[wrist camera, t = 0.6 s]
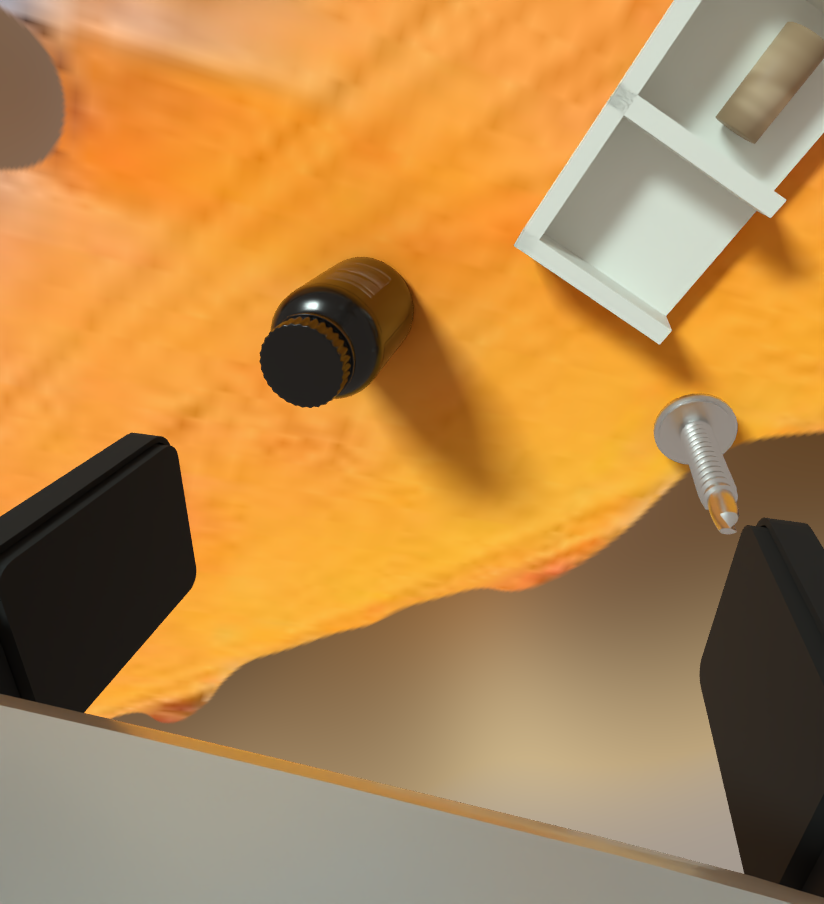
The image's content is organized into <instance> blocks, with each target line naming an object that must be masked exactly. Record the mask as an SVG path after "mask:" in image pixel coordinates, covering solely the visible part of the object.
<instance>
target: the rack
mask: <svg viewBox="0 0 824 904" xmlns="http://www.w3.org/2000/svg"><path fill="white" fill-rule="evenodd" d="M787 22H795V23H798V24H801V25H803V26H805V27H807V28H808V29H810V30H812V31H813V32H815V33H816V34H817V35H819V36H820V37H821V38H822V39H823V40H824V0H674V1H673V2H672V4H671V5H670V7H669V8H668V10H667V12H666V13H665V15H664V16H663V18H662V19H661V21H660V22H659V24H658V25H657V27H656V28H655V30H654V31H653V33H652V34H651V36H650V37H649V39H648V40H647V42H646V43H645V45H644V47H643V48H642V50H641V51H640V53H639V54H638V56H637V57H636V59H635V60H634V62H633V63H632V65H631V66H630V68H629V69H628V71H627V72H626V74H625V75H624V77H623V78H622V80H621V81H620V83H619V85H618V86H617V88H616V89H615V91H614V92H613V94H612V95H611V97H610V98H609V100H608V101H607V103H606V104H605V106H604V107H603V109H602V110H601V112H600V113H599V115H598V116H597V118H596V120H595V121H594V123H593V124H592V126H591V127H590V129H589V130H588V132H587V133H586V135H585V136H584V138H583V139H582V141H581V142H580V144H579V145H578V147H577V148H576V150H575V151H574V153H573V154H572V156H571V158H570V159H569V161H568V162H567V164H566V165H565V167H564V168H563V170H562V171H561V173H560V174H559V176H558V177H557V179H556V180H555V182H554V183H553V185H552V186H551V188H550V189H549V191H548V193H547V194H546V196H545V197H544V199H543V200H542V202H541V203H540V205H539V206H538V208H537V209H536V211H535V212H534V214H533V215H532V217H531V218H530V220H529V221H528V223H527V224H526V226H525V227H524V229H523V231H522V232H521V234H520V235H519V237H518V239H517V241H516V242H515V244H514V246H515V247H516V248H518V249H519V250H521V251H522V252H524V253H525V254H527V255H528V256H530V257H531V258H533V259H534V260H536V261H537V262H539V263H540V264H541V265H543V266H544V267H546V268H547V269H549V270H550V271H552V272H553V273H555V274H556V275H558V276H559V277H561V278H562V279H564V280H565V281H566V282H568V283H569V284H571V285H572V286H574V287H575V288H577V289H578V290H580V291H581V292H583V293H584V294H586V295H587V296H589V297H590V298H592V299H593V300H594V301H596V302H597V303H599V304H600V305H602V306H603V307H605V308H606V309H608V310H609V311H611V312H612V313H614V314H615V315H617V316H618V317H619V318H621V319H622V320H624V321H625V322H627V323H628V324H630V325H631V326H633V327H634V328H636V329H637V330H639V331H640V332H642V333H643V334H645V335H646V336H647V337H649V338H650V339H652V340H653V341H655V342H656V343H658V344H659V345H660V344H661V343H662V342H663V340H664V339H665V338H666V337H667V336H668V335H669V334H670V332H671V331H672V329H671V327H670V324H669V322H668V320H667V317H666V316H667V314H668V313H669V312H670V311H671V310H672V309H673V307H674V306H675V305H676V304H677V303H678V302H679V300H680V299H681V298H682V297H683V296H684V295H685V293H686V292H687V291H688V290H689V289H690V288H691V286H692V285H693V284H694V283H695V282H696V281H697V279H698V278H699V277H700V276H701V275H702V274H703V273H704V271H705V270H706V269H707V268H708V267H709V266H710V264H711V263H712V262H713V261H714V260H715V259H716V257H717V256H718V255H719V254H720V253H721V252H722V250H723V249H724V248H725V247H726V246H727V245H728V243H729V242H730V241H731V240H732V239H733V238H734V236H735V235H736V234H737V233H738V232H739V231H740V229H741V228H742V227H743V226H744V225H745V224H746V222H747V221H748V220H749V219H750V218H751V217H752V215H753V214H754V213H755V212H756V211H758V212H760V213H762V214H763V215H765V216H767V217H769V218H771V217H772V216H773V215H774V214H775V213H776V212H777V211H778V209H779V208H780V207H781V206H782V205H783V204H784V203H785V201H786V199H784V198H783V197H782V196H780V195H779V194H777V193H776V192H775V191H774V190H775V189H776V188H777V186H778V185H779V184H780V183H781V182H782V181H783V179H784V178H785V177H786V176H787V175H788V174H789V172H790V171H791V170H792V169H793V168H794V167H795V165H796V164H797V163H798V162H799V161H800V160H801V158H802V157H803V156H804V155H805V154H806V153H807V151H808V150H809V149H810V148H811V147H812V146H813V144H814V143H815V142H816V141H817V140H818V139H819V138H820V136H821V135H822V134H823V133H824V59H823V60H822V62H821V63H820V64H819V65H818V67H817V68H816V69H815V70H814V71H813V73H812V74H811V75H810V76H809V78H808V79H807V80H806V81H805V83H804V84H803V85H802V86H801V88H800V89H799V90H798V91H797V93H796V94H795V95H794V96H793V97H792V99H791V100H790V101H789V102H788V104H787V105H786V106H785V107H784V109H783V110H782V111H781V112H780V114H779V115H778V116H777V117H776V118H775V120H774V121H773V122H772V123H771V125H770V126H769V127H768V128H767V130H766V131H765V132H764V133H763V135H762V136H761V137H760V138H759V140H758V141H757V142H756V143H755V144H753V143H751V142H749V141H747V140H745V139H743V138H742V137H740V136H738V135H737V134H735V133H734V132H733V131H731V130H730V129H728V128H727V127H726V126H724V125H723V124H722V123H721V122H719V121H718V120H717V119H716V115H717V114H718V113H719V112H720V110H721V109H722V108H723V106H724V105H725V104H726V102H727V101H728V100H729V98H730V97H731V96H732V94H733V93H734V92H735V90H736V89H737V88H738V86H739V85H740V84H741V82H742V81H743V80H744V78H745V77H746V76H747V75H748V73H749V72H750V71H751V69H752V68H753V67H754V65H755V64H756V63H757V61H758V60H759V59H760V57H761V56H762V55H763V53H764V52H765V51H766V49H767V48H768V47H769V45H770V44H771V43H772V41H773V40H774V39H775V38H776V36H777V35H778V34H779V32H780V31H781V30H782V28H783V27H784V26H785V24H786V23H787Z"/></svg>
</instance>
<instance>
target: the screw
mask: <svg viewBox="0 0 824 904" xmlns="http://www.w3.org/2000/svg"><path fill="white" fill-rule="evenodd" d="M737 426H738V424H737V420H736V416H735V414H734V413H733V411H732V409H731V408H730V407H729V405H728V404H727V403H726V402H724V401H723V400H721V399H720V398H718V397H715V396H712V395H709V394H702V393H699V394H689V395H684V396H681V397H679V398H677V399H674V400H673V401H671V402H670V403H668V404H667V405H666V406H665V407H664V408H663V409H662V410H661V411H660V413H659V415H658V416H657V418H656V421H655V424H654V438H655V442H656V444H657V446H658V448H659V449H660V451H661V452H662V453H663V454H664V455H665V456H667V457H668V458H669V459H671V460H673V461H675V462H678V463H682V464H689V467H690V470H691V473H692V477H693V480H694V483H695V487H696V490H697V493H698V496H699V498H700V501H701V503H702V504H703V505H704V508H705V509H706V510H709V512H710V514H711V517H712V520H713V521H714V524H715V525H716V527H717V529H718V530H719V531H720V532H721V533H723V534H733V533H735V532H737V530H736V528H735V525H734V524H735V523H736V522H737V520H738V517H739V510H738V506H737V504H736V502H737V499H738V494H737V488H736V486H735V484H734V481H733V479H732V476H731V474H730V471H729V469H728V467H727V464H726V462H725V459H724V457H723V454H724V453H725V452H726V451H727V450H728V449H729V448H730V447H731V445H732V444H733V442H734V440H735V438H736V434H737Z"/></svg>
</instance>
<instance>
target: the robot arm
mask: <svg viewBox="0 0 824 904" xmlns="http://www.w3.org/2000/svg"><path fill="white" fill-rule="evenodd" d="M195 578H196V564H195V558H194V552H193V546H192V539H191V533H190V527H189V521H188V515H187V508H186V502H185V496H184V490H183V484H182V477H181V471H180V465H179V459H178V454H177V451H176V449H175V448H174V447H172V446H170V444H169V442H168V440H167V439H166V438H164V437H161V436H154V435H146V434H139V433H130V434H128V435H126V436H124V437H123V438H121V439H120V440H118V441H117V442H115V443H113V444H112V445H110V446H109V447H107V448H106V449H104V450H103V451H101V452H100V453H98V454H96V455H95V456H93V457H92V458H90V459H89V460H87V461H86V462H84V463H83V464H81V465H79V466H78V467H76V468H75V469H73V470H72V471H70V472H69V473H67V474H66V475H64V476H62V477H61V478H59V479H58V480H56V481H55V482H53V483H52V484H50V485H49V486H47V487H45V488H44V489H42V490H41V491H39V492H38V493H36V494H35V495H33V496H32V497H30V498H28V499H27V500H25V501H24V502H22V503H21V504H19V505H18V506H16V507H15V508H13V509H11V510H10V511H8V512H7V513H5V514H4V515H2V516H1V517H0V904H824V549H823V547H822V546H821V544H820V542H819V540H818V539H817V537H816V536H815V534H814V532H813V531H812V529H811V528H810V527H809V525H808V524H805V523H799V522H792V521H785V520H777V519H770V518H762V519H761V520H760V521H759V522H758V524H757V525H756V526H750V525H747V526H746V527H744V529H743V531H742V533H741V536H740V539H739V542H738V545H737V548H736V551H735V555H734V558H733V561H732V564H731V567H730V570H729V574H728V577H727V580H726V583H725V586H724V589H723V593H722V596H721V599H720V602H719V605H718V608H717V612H716V615H715V618H714V621H713V624H712V627H711V631H710V634H709V637H708V640H707V643H706V646H705V649H704V653H703V656H702V659H701V664H700V684H701V689H702V693H703V698H704V702H705V706H706V711H707V715H708V719H709V723H710V728H711V732H712V736H713V740H714V745H715V749H716V754H717V758H718V762H719V767H720V771H721V775H722V779H723V784H724V788H725V792H726V797H727V801H728V805H729V810H730V814H731V818H732V823H733V827H734V831H735V835H736V840H737V844H738V848H739V853H740V857H741V861H742V865H743V870H744V874H742V873H738V872H734V871H730V870H727V869H722V868H719V867H715V866H711V865H708V864H703V863H700V862H696V861H692V860H688V859H684V858H681V857H676V856H673V855H669V854H665V853H661V852H658V851H654V850H650V849H646V848H642V847H638V846H634V845H630V844H626V843H623V842H619V841H615V840H611V839H608V838H604V837H600V836H596V835H591V834H588V833H583V832H580V831H575V830H571V829H567V828H563V827H559V826H555V825H551V824H546V823H543V822H539V821H534V820H530V819H526V818H522V817H518V816H514V815H510V814H506V813H501V812H497V811H493V810H489V809H485V808H481V807H477V806H473V805H468V804H464V803H461V802H456V801H452V800H448V799H444V798H440V797H436V796H432V795H428V794H424V793H419V792H415V791H411V790H407V789H403V788H399V787H395V786H391V785H386V784H382V783H378V782H374V781H370V780H366V779H361V778H357V777H353V776H349V775H345V774H340V773H336V772H332V771H328V770H324V769H319V768H315V767H311V766H306V765H303V764H298V763H294V762H290V761H286V760H282V759H278V758H273V757H269V756H265V755H261V754H257V753H252V752H248V751H244V750H240V749H235V748H231V747H227V746H223V745H218V744H214V743H209V742H206V741H201V740H197V739H193V738H189V737H185V736H180V735H176V734H172V733H168V732H163V731H159V730H155V729H150V728H146V727H142V726H138V725H133V724H129V723H125V722H120V721H116V720H112V719H107V718H103V717H99V716H94V715H90V714H86V713H84V712H85V711H86V710H87V708H88V707H89V706H90V705H91V704H92V703H93V701H94V700H95V699H96V698H97V697H98V696H99V695H100V693H101V692H102V691H103V690H104V689H105V688H106V686H107V685H108V684H109V683H110V682H111V681H112V680H113V678H114V677H115V676H116V675H117V674H118V673H119V671H120V670H121V669H122V668H123V667H124V666H125V664H126V663H127V662H128V661H129V660H130V659H131V658H132V656H133V655H134V654H135V653H136V652H137V651H138V649H139V648H140V647H141V646H142V645H143V644H144V643H145V641H146V640H147V639H148V638H149V637H150V636H151V634H152V633H153V632H154V631H155V630H156V629H157V627H158V626H159V625H160V624H161V623H162V622H163V621H164V619H165V618H166V617H167V616H168V615H169V614H170V612H171V611H172V610H173V609H174V608H175V607H176V606H177V604H178V603H179V602H180V601H181V600H182V599H183V597H184V596H185V595H186V594H187V593H188V592H189V591H190V589H191V588H192V586H193V584H194V581H195Z"/></svg>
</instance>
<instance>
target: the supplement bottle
mask: <svg viewBox="0 0 824 904" xmlns="http://www.w3.org/2000/svg"><path fill="white" fill-rule="evenodd" d="M412 320H413V301H412V297H411V293H410V291H409V288H408V286H407V284H406V283H405V281H404V280H403V278H402V277H401V276H400V275H399V274H398V273H397V272H396V271H395V270H394V269H393V268H392V267H390V266H389V265H387V264H386V263H384V262H382V261H379V260H376V259H373V258H368V257H355V258H350V259H347V260H344V261H342V262H340V263H338V264H336V265H335V266H333V267H331V268H330V269H328V270H327V271H325V272H323V273H322V274H320V275H319V276H317V277H316V278H314V279H312V280H311V281H309V282H308V283H306V284H305V285H303V286H301V287H300V288H298V289H297V290H295V291H294V292H292V293H291V294H290V295H289V296H288V297H286V298H285V299H284V300H283V301H282V303H281V304H280V305H279V307H278V308H277V310H276V312H275V314H274V317H273V320H272V325H271V331H270V333H269V335H268V336H267V337H265V340H264V343H263V344H262V350H261V352H260V356H261V358H260V363H261V370H262V372H263V376H264V378H265V379H266V381H267V384H268V385H269V386H270V387H271V388H272V390H273V392H275V393H277V394H278V396H279V397H280V398H283V399H284V400H285V401H286V402H289V403H292V404H293V405H295V406H297V405H298V406H300V407H309V408H312V407H319V406H320V405H325V404H327V403H328V402H329V401H331V400H333V399H339V398H345V397H349V396H352V395H354V394H356V393H358V392H360V391H362V390H363V389H364V388H365V387H367V386H368V385H369V384H370V383H371V382H372V381H373V379H374V378H375V377H376V376H377V374H378V373H379V372H380V371H381V369H382V368H383V367H384V365H385V364H386V363H387V361H388V360H389V359H390V358H391V356H392V355H393V354H394V352H395V351H396V350H397V348H398V347H399V346H400V345H401V343H402V342H403V340H404V339H405V337H406V336H407V334H408V332H409V330H410V328H411V324H412Z"/></svg>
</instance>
